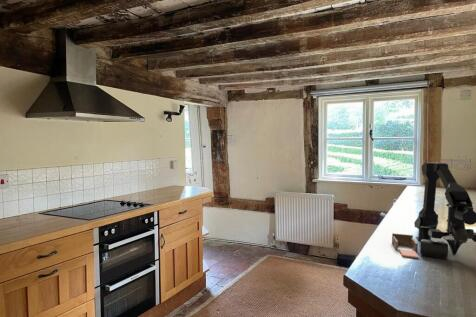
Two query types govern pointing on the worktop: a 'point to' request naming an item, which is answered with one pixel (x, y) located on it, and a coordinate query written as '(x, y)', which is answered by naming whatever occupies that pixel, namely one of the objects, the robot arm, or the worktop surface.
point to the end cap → (434, 249)
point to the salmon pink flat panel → (408, 253)
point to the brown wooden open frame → (404, 241)
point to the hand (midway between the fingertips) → (453, 255)
